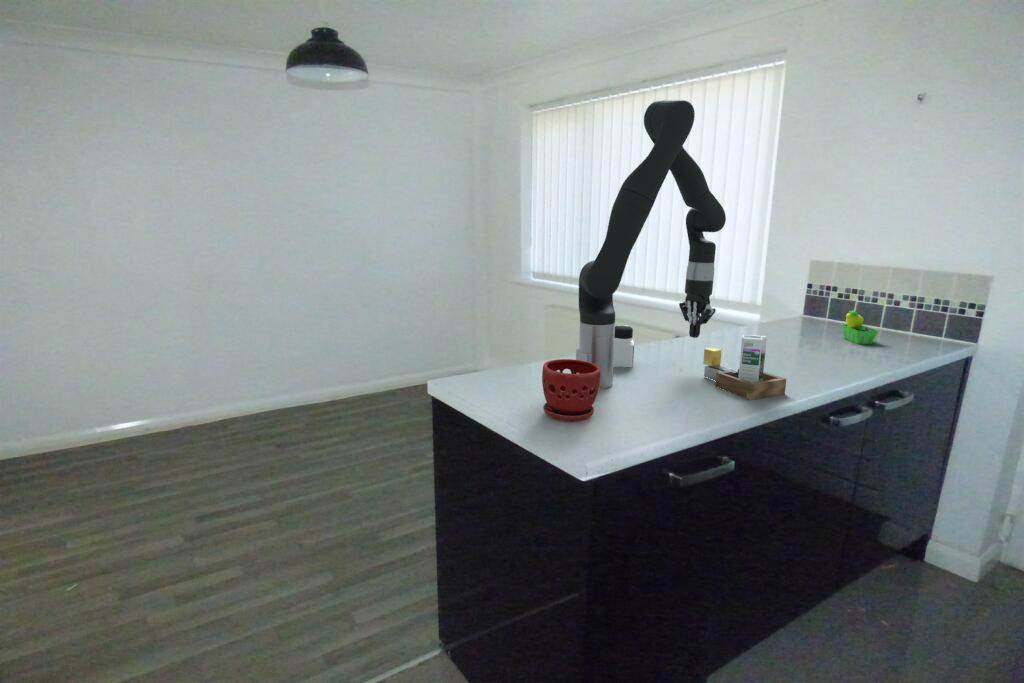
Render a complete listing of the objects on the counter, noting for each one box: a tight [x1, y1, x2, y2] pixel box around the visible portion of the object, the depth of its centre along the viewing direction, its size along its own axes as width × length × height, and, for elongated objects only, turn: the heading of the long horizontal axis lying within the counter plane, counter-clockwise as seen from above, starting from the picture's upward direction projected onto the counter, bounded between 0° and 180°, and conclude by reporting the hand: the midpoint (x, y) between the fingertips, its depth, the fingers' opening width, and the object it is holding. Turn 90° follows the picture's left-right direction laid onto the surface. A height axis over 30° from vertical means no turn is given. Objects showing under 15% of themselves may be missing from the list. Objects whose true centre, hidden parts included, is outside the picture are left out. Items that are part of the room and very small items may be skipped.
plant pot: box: [541, 358, 601, 423], centre depth 126 cm, size 13×13×12 cm
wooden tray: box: [715, 368, 787, 401], centre depth 145 cm, size 12×12×4 cm
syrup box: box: [738, 334, 767, 383], centre depth 143 cm, size 6×6×14 cm
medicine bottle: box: [613, 324, 635, 369], centre depth 169 cm, size 7×7×12 cm
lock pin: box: [702, 347, 739, 378], centre depth 153 cm, size 3×11×7 cm, turn 24°
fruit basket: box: [840, 310, 879, 345], centre depth 199 cm, size 11×9×11 cm
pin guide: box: [703, 364, 738, 382], centre depth 154 cm, size 5×8×3 cm, turn 24°
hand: (693, 337), depth 162 cm, fingers closed
